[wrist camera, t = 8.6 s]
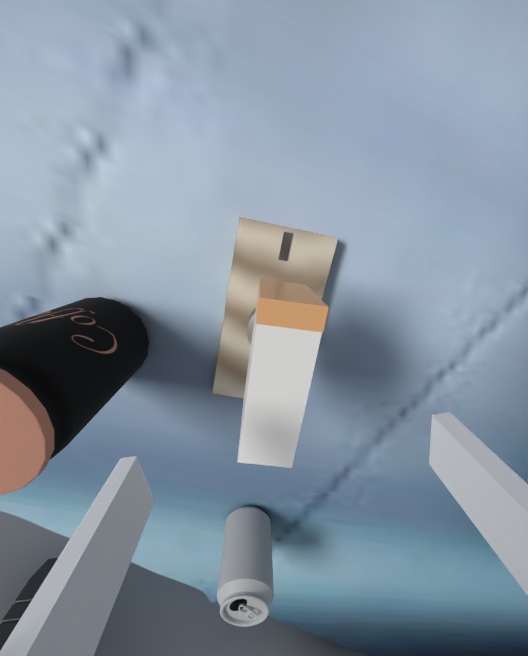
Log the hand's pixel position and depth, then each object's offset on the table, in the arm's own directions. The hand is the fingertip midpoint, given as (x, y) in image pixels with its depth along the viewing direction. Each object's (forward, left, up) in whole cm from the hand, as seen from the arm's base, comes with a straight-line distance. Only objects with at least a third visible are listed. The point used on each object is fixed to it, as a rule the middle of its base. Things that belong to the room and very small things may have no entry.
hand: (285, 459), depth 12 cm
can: (+35, +4, -23) cm, 42 cm away
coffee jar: (+6, -19, -23) cm, 31 cm away
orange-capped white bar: (0, 0, -17) cm, 17 cm away
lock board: (0, 0, -23) cm, 23 cm away
